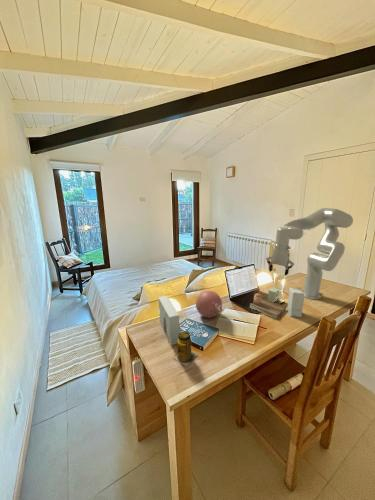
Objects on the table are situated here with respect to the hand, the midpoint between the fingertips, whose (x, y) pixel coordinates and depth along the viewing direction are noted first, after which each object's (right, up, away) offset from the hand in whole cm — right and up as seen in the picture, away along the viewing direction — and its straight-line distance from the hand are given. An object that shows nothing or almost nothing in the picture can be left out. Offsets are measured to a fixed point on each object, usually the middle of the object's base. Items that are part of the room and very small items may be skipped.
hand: (278, 272), depth 136 cm
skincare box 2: (+7, -24, -7) cm, 26 cm away
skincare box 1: (-68, -29, -24) cm, 78 cm away
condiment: (-59, -33, -42) cm, 80 cm away
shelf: (-7, -23, -2) cm, 24 cm away
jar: (-14, -20, 0) cm, 24 cm away
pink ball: (-45, -25, -12) cm, 53 cm away
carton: (0, -20, +9) cm, 22 cm away
